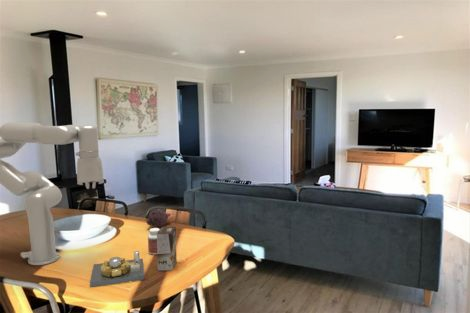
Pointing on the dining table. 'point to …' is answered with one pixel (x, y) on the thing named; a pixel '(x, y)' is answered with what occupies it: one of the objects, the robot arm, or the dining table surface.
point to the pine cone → (157, 218)
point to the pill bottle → (152, 241)
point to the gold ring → (123, 269)
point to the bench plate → (114, 263)
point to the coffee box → (166, 248)
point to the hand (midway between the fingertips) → (91, 196)
